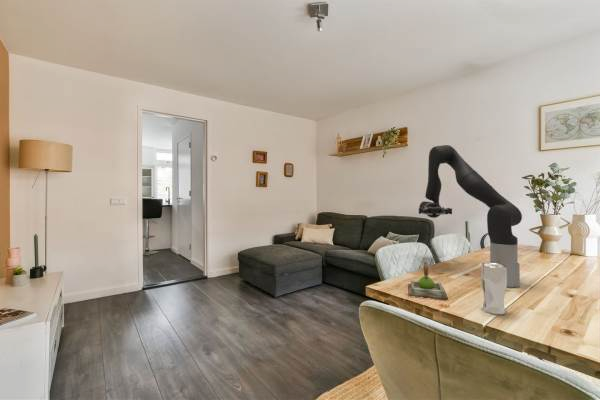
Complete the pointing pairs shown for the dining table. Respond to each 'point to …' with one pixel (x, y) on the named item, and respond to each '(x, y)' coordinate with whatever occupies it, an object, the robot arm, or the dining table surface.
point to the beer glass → (494, 287)
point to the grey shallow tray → (427, 291)
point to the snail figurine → (426, 278)
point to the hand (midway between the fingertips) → (436, 211)
